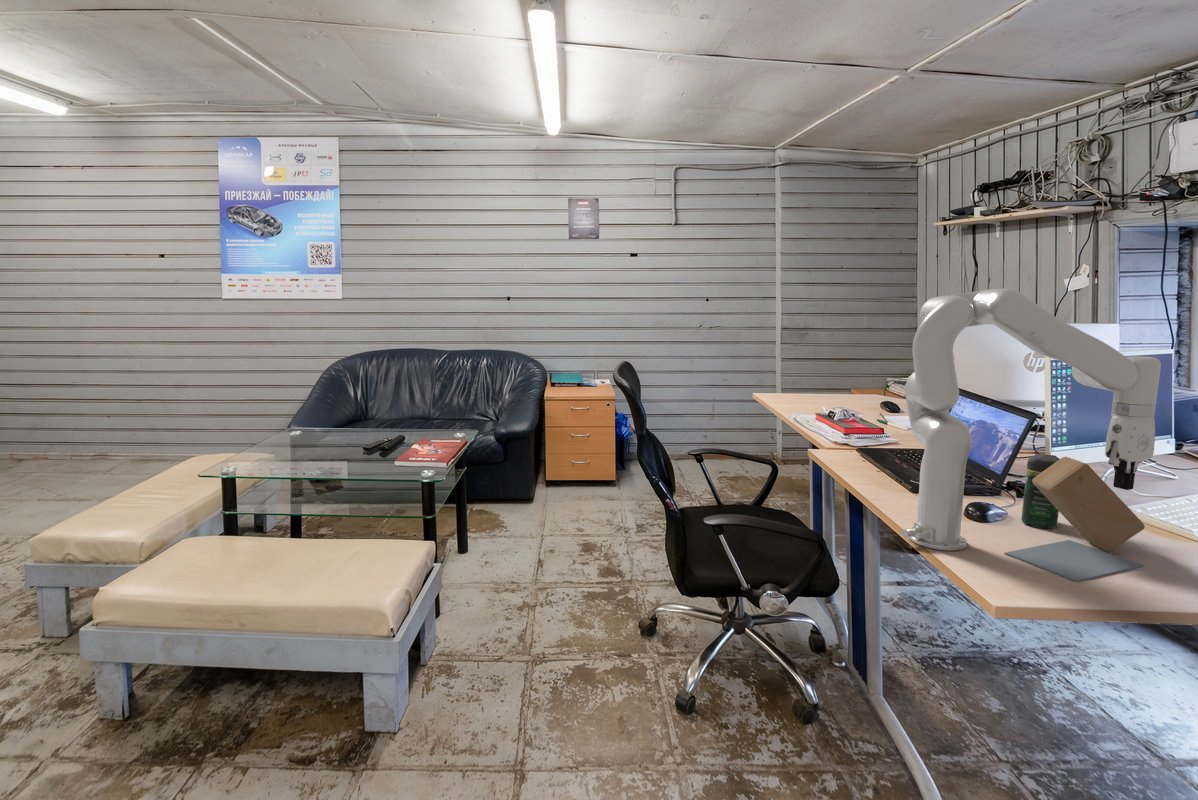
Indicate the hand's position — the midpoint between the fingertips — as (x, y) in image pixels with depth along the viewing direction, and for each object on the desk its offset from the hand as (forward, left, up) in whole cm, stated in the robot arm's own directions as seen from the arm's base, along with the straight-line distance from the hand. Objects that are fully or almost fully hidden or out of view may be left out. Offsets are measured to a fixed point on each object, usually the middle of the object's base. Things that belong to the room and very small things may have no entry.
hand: (1122, 488), depth 145 cm
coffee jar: (+2, +19, -16) cm, 25 cm away
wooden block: (+1, +1, -12) cm, 12 cm away
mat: (-15, 0, -15) cm, 22 cm away
